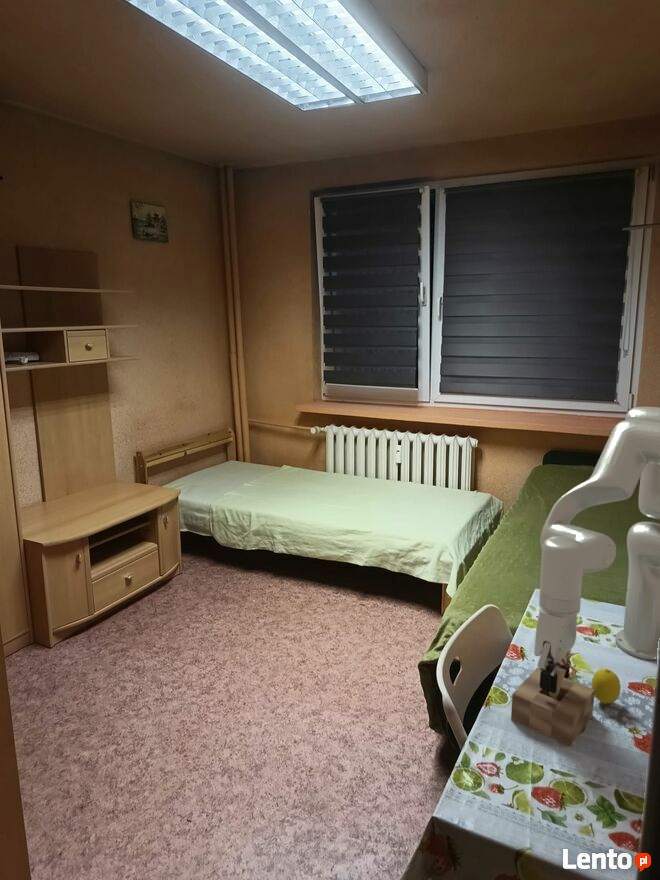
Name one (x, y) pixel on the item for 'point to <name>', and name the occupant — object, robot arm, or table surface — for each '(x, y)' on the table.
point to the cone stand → (553, 708)
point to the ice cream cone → (560, 672)
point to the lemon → (606, 686)
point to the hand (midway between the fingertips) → (554, 681)
